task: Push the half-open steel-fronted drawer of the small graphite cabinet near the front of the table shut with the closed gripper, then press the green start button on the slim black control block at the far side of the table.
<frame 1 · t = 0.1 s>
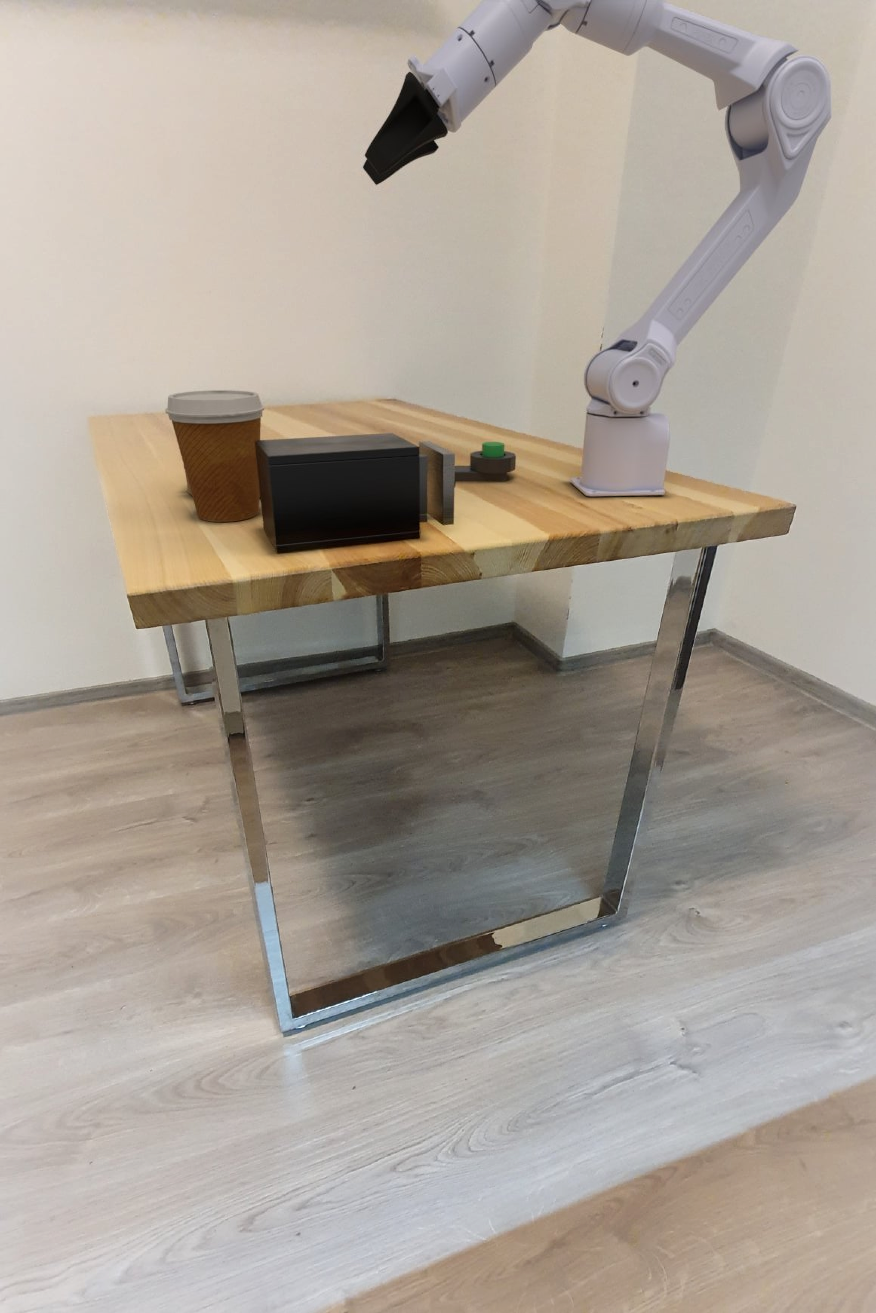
hand: (370, 171, 71), 32 cm above the table, tool tilted 50°, fingers open, 7 cm apart
cabinet: (340, 534, 71), on the table
disposable coffee cup: (228, 516, 77), on the table
drawer: (387, 486, 70), point 4 cm above the table, slide at 2.5 cm
alarm clock: (237, 488, 89), on the table
start button: (493, 450, 92), point 3 cm above the table, slide at 0.1 cm
control block: (470, 478, 93), on the table
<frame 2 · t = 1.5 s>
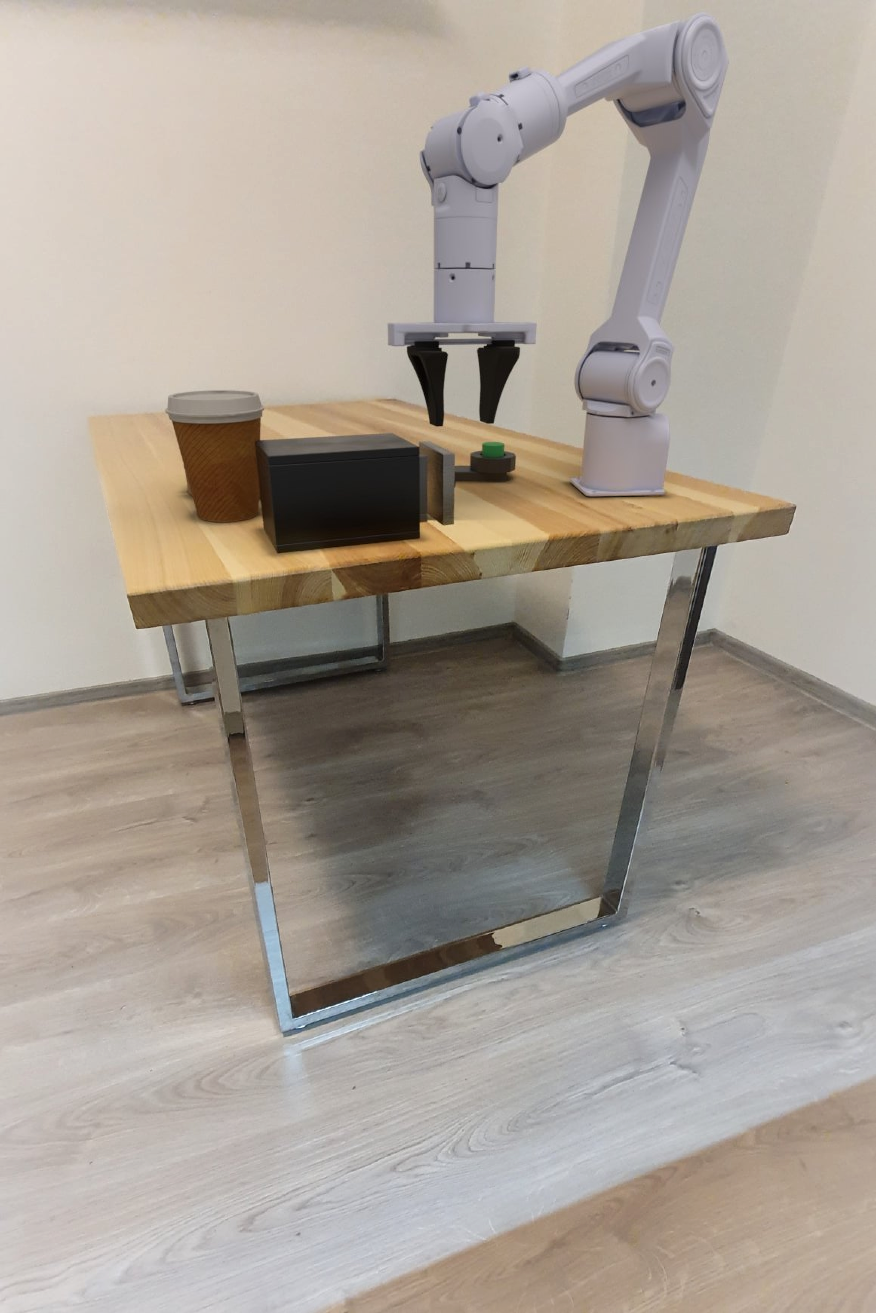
hand: (461, 423, 73), 9 cm above the table, tool pointing down, fingers open, 5 cm apart
nothing on the table moved.
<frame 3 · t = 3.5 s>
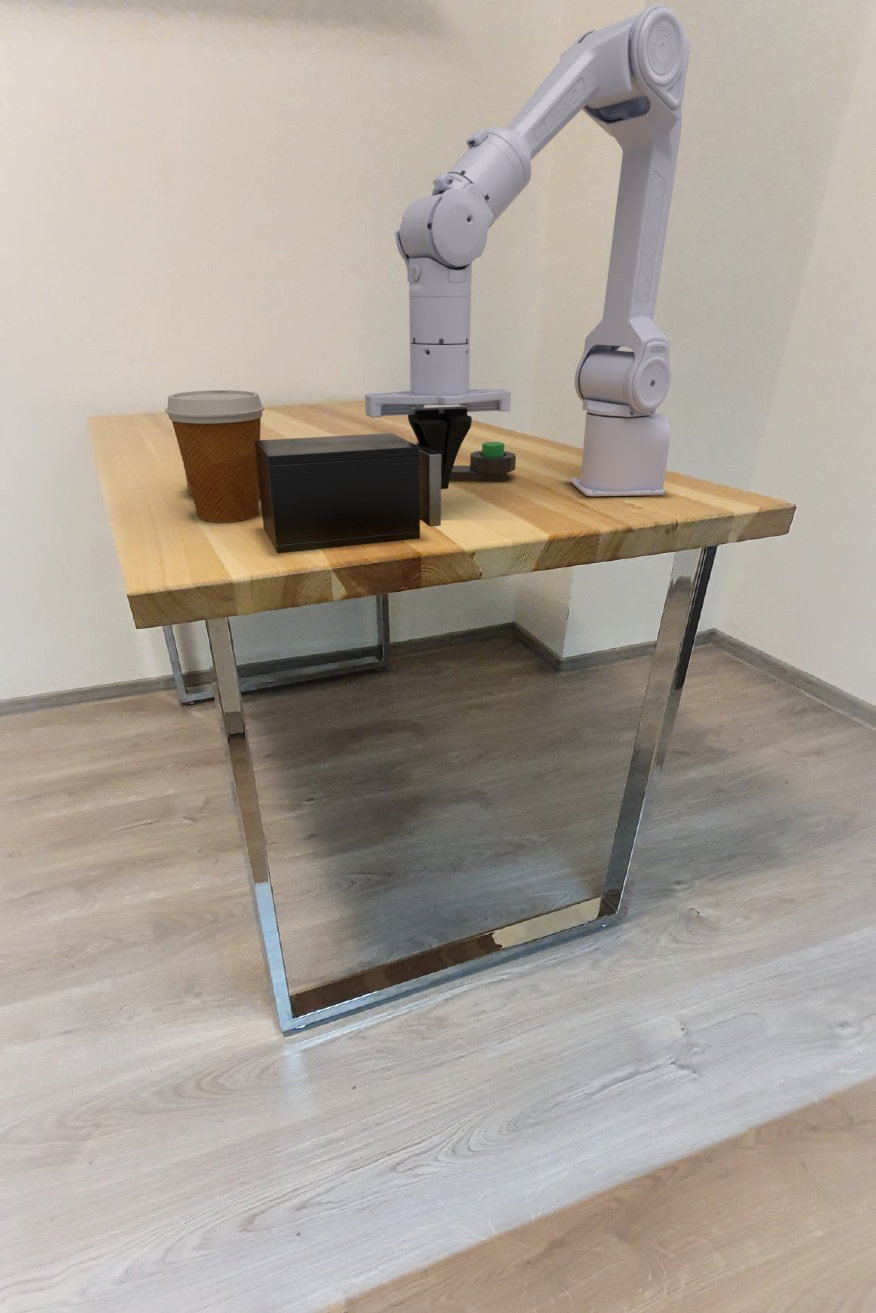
hand: (438, 487, 75), 3 cm above the table, tool pointing down, fingers closed
drawer: (373, 487, 70), point 4 cm above the table, slide at 1.1 cm, touching gripper
everything else where it was.
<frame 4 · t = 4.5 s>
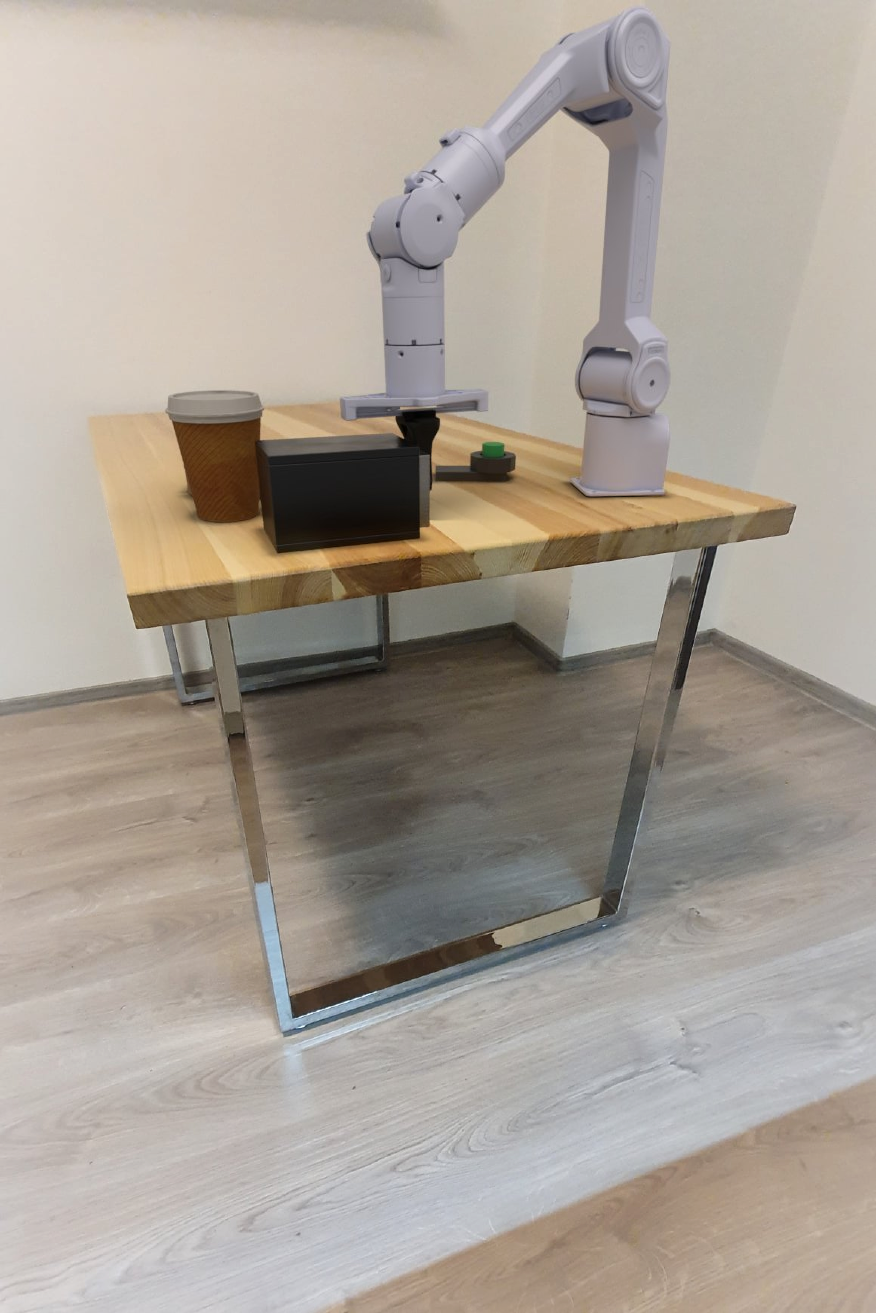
hand: (417, 489, 74), 3 cm above the table, tool pointing down, fingers closed, pressing on drawer
drawer: (362, 488, 70), point 4 cm above the table, slide at 0.0 cm, touching cabinet, gripper
everything else where it was.
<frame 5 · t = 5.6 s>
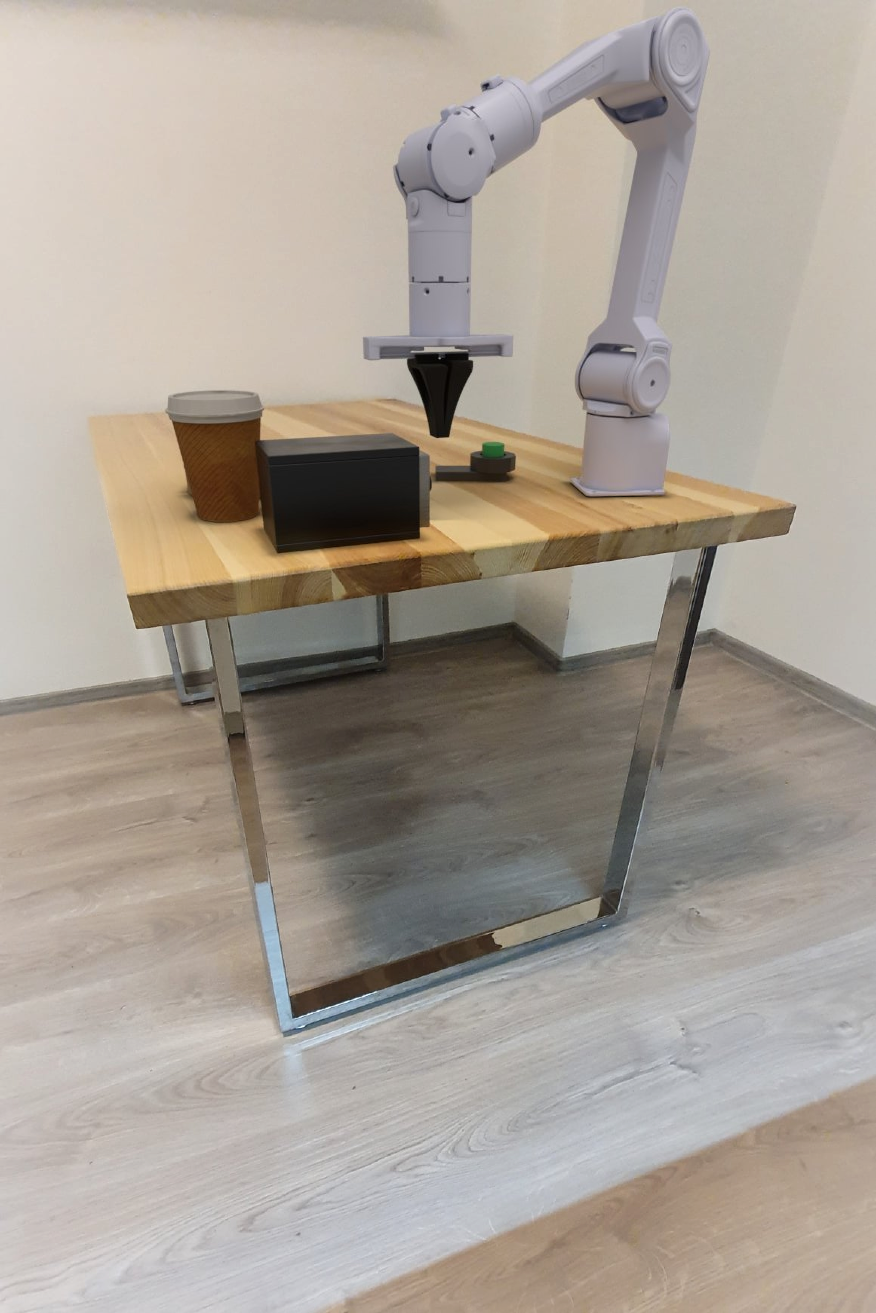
hand: (439, 436, 73), 8 cm above the table, tool pointing down, fingers closed
drawer: (362, 488, 70), point 4 cm above the table, slide at 0.0 cm, touching cabinet
everything else where it was.
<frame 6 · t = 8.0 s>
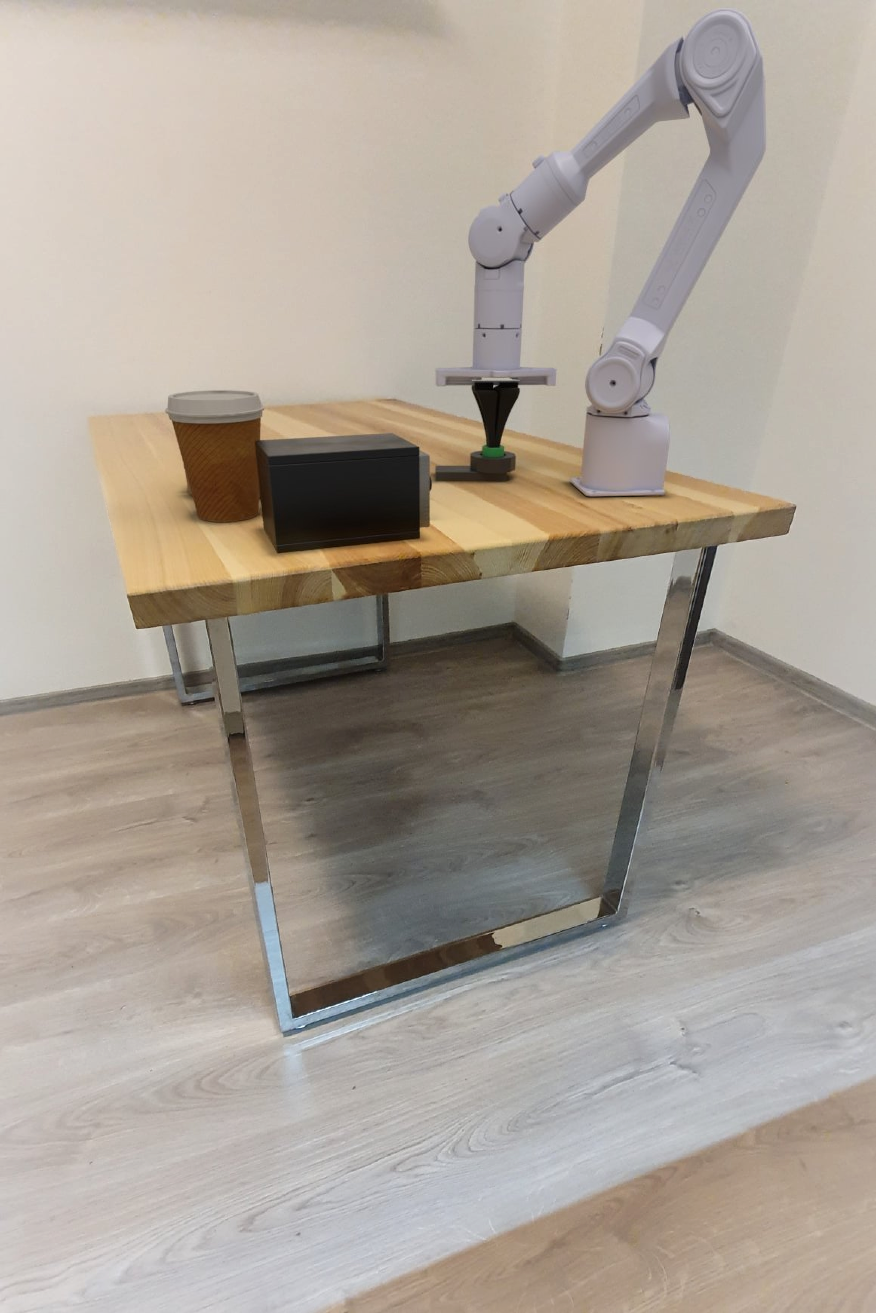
hand: (493, 446, 92), 4 cm above the table, tool pointing down, fingers closed, pressing on start button
start button: (492, 453, 92), point 3 cm above the table, slide at -0.3 cm, touching gripper
everything else where it was.
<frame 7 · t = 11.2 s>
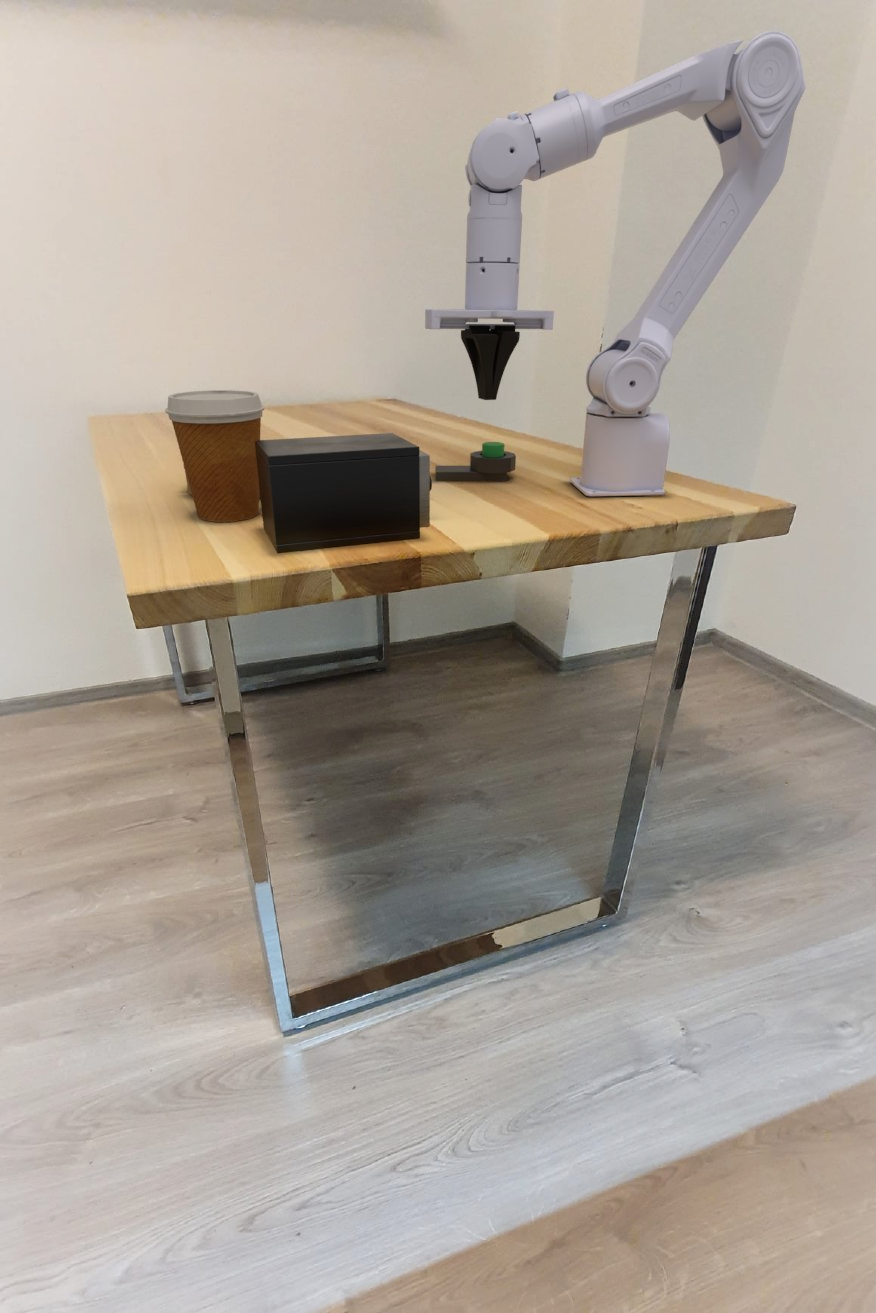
hand: (487, 399, 83), 10 cm above the table, tool pointing down, fingers closed
start button: (493, 450, 92), point 3 cm above the table, slide at 0.1 cm
everything else where it was.
at the end: drawer slide at 0.0 cm; start button pushed in 1.2 cm at the most during the clip, back to where it started at the end; start button slide at 0.1 cm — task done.
